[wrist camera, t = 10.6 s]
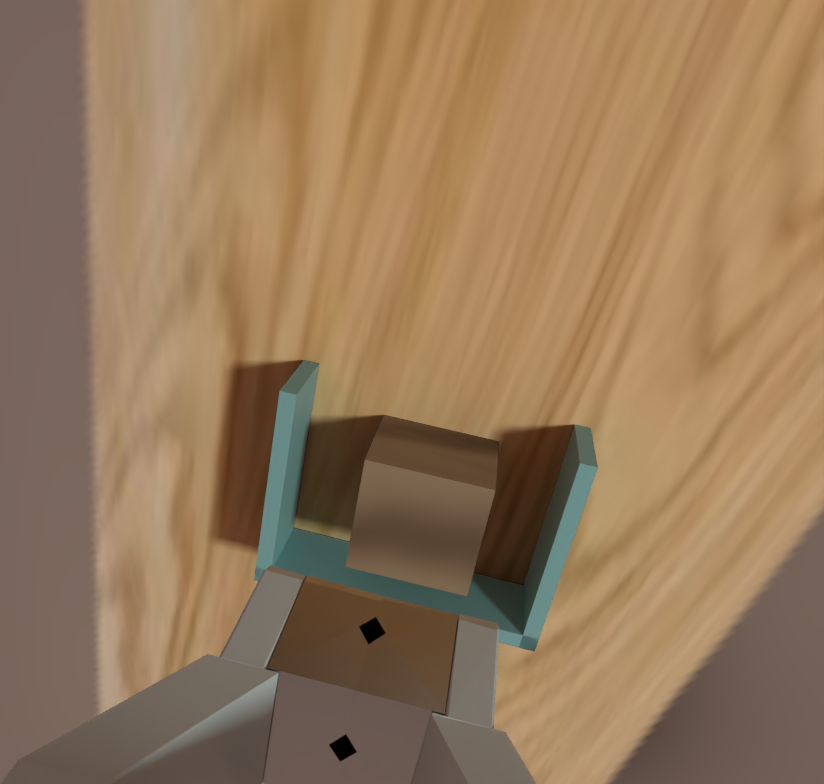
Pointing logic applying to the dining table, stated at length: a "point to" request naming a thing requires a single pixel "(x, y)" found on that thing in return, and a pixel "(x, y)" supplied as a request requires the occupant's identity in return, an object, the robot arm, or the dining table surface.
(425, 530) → the walnut tile block
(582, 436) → the box
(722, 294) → the dining table surface
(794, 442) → the dining table surface
